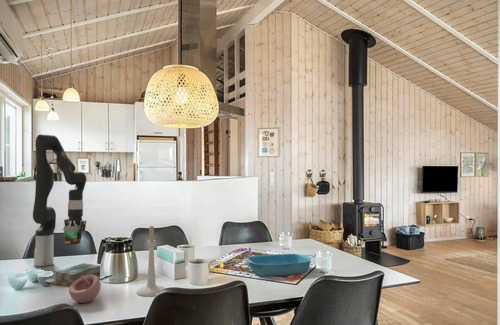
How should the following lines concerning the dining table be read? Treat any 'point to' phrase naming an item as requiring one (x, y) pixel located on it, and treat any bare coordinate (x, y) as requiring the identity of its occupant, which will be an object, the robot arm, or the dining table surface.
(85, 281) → the mortar and pestle
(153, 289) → the candlestick
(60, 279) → the plinth
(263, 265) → the casserole dish
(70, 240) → the food container
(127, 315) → the dining table surface
